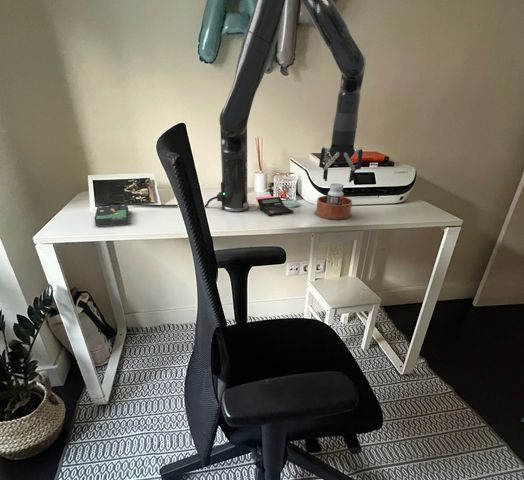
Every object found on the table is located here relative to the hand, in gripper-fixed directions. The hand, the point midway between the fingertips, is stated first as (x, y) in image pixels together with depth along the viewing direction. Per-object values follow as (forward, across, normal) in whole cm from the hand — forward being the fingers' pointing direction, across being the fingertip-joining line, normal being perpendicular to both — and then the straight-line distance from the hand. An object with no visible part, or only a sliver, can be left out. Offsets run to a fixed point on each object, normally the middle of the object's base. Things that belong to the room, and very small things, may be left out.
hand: (337, 181), depth 130 cm
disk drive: (+11, +76, +22) cm, 80 cm away
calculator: (+11, +22, 0) cm, 25 cm away
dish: (+11, 0, 0) cm, 11 cm away
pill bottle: (+11, 0, 0) cm, 11 cm away
